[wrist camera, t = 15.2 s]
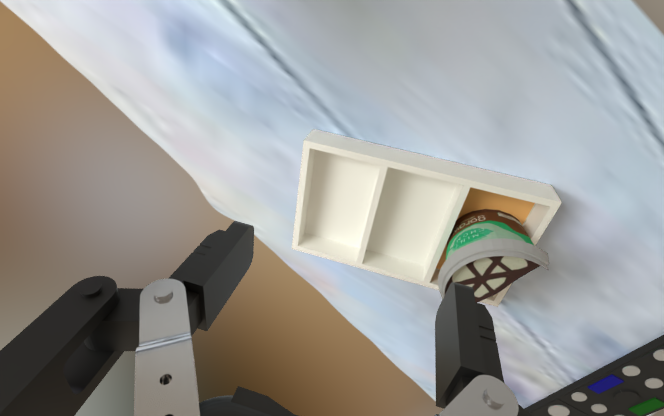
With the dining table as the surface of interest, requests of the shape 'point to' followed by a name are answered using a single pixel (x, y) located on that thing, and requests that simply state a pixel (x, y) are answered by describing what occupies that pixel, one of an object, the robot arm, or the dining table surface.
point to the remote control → (613, 388)
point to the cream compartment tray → (400, 206)
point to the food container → (488, 253)
